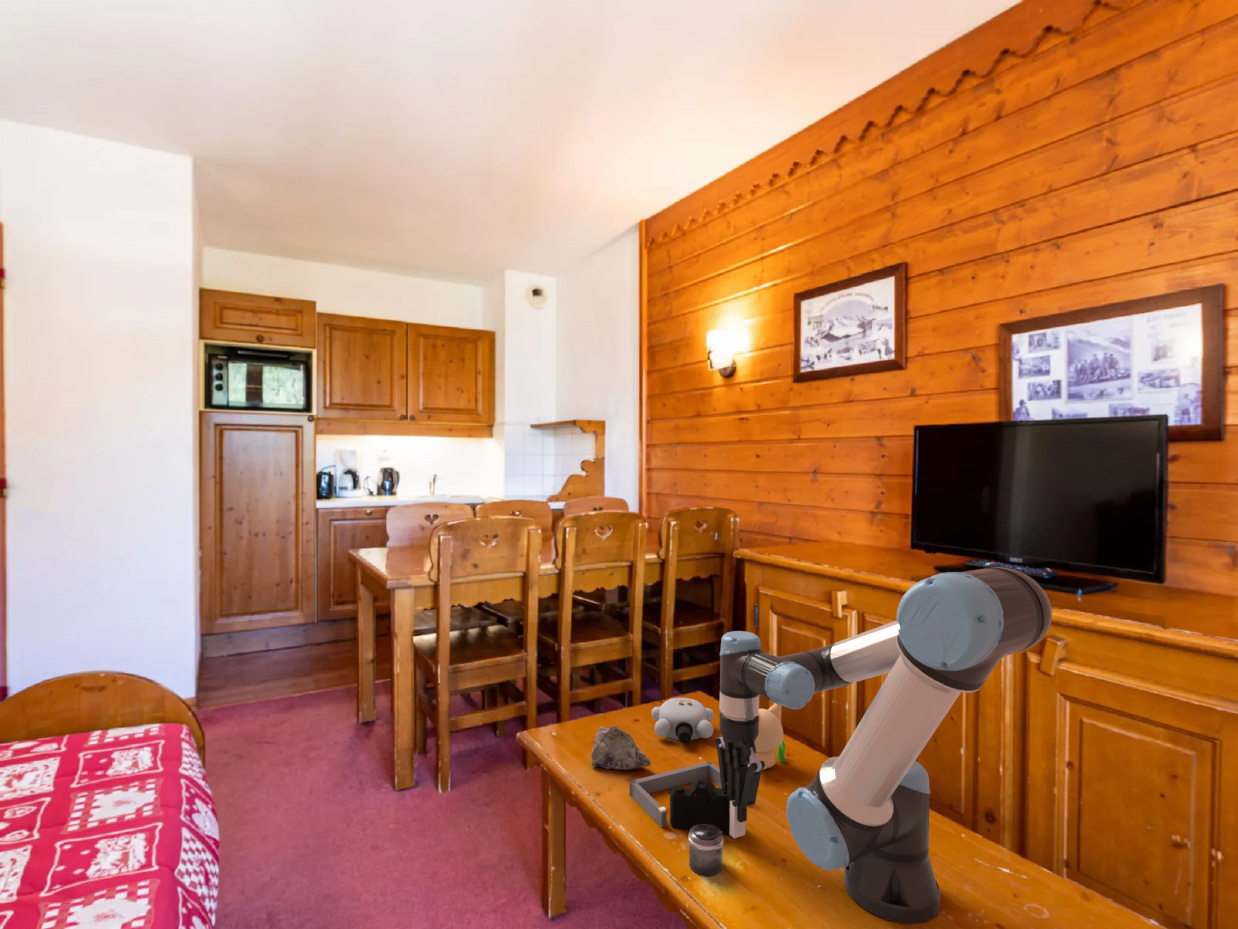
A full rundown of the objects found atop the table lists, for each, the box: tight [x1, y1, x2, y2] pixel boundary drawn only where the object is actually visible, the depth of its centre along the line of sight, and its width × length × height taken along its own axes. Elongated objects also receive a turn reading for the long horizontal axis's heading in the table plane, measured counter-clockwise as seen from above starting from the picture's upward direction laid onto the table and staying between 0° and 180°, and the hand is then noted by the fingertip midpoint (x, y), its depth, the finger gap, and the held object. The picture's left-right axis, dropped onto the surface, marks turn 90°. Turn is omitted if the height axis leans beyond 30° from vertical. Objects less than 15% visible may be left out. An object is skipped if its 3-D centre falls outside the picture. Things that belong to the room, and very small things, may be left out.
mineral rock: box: [590, 725, 652, 771], centre depth 152 cm, size 13×11×10 cm
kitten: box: [755, 703, 787, 771], centre depth 154 cm, size 15×10×15 cm
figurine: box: [651, 697, 715, 745], centre depth 172 cm, size 17×8×20 cm
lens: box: [687, 824, 725, 878], centre depth 115 cm, size 6×6×6 cm
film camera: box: [667, 778, 731, 836], centre depth 130 cm, size 15×10×9 cm, turn 78°
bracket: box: [628, 761, 722, 828], centre depth 138 cm, size 14×21×3 cm, turn 117°
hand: (737, 834), depth 122 cm, fingers closed
